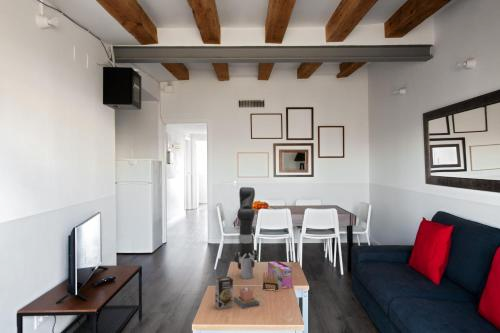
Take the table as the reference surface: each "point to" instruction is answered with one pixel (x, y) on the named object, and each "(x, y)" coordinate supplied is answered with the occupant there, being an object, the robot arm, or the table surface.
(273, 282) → the ammunition clip
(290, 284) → the gum box
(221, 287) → the coffee box
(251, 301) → the post stand
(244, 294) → the collar
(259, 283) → the table surface
